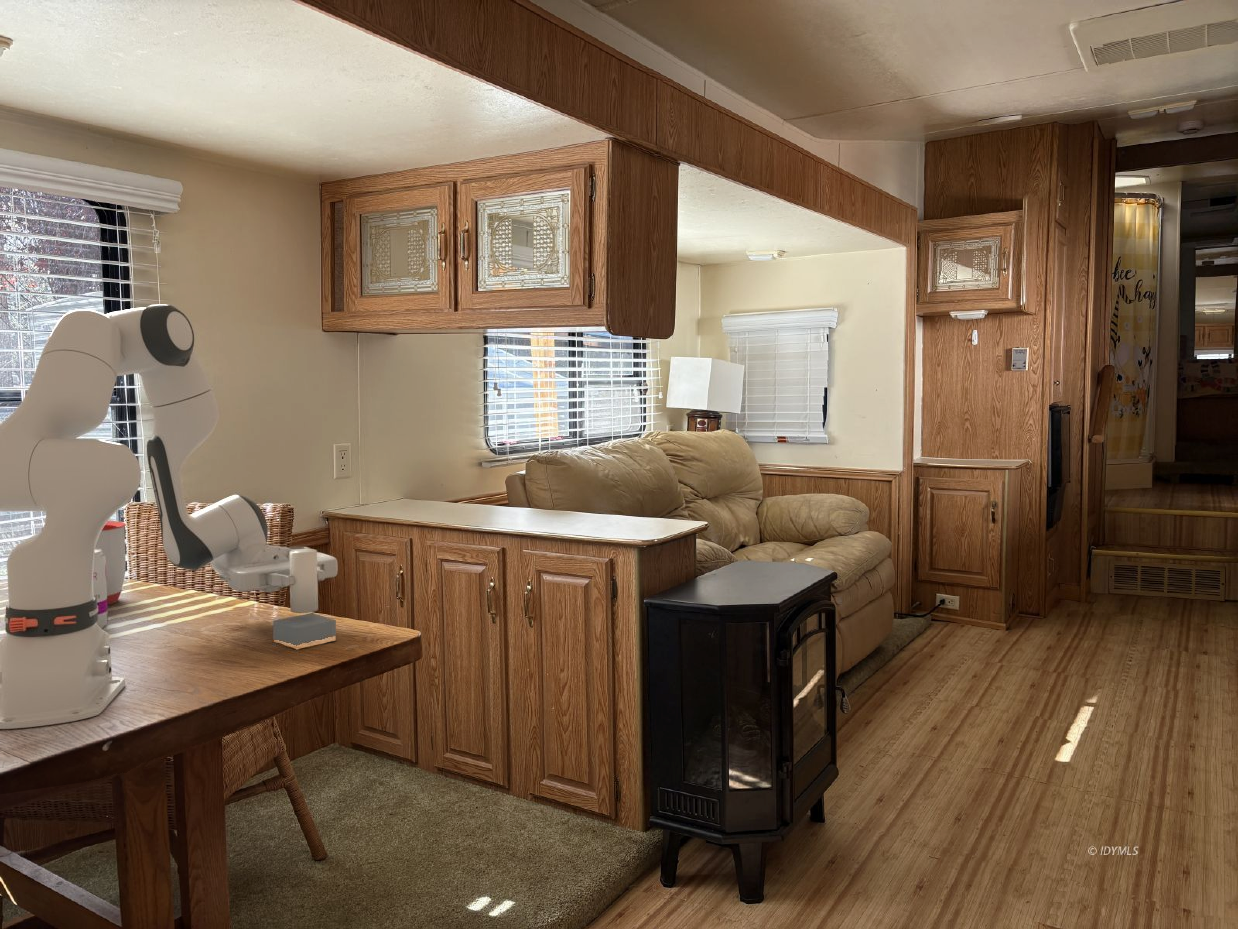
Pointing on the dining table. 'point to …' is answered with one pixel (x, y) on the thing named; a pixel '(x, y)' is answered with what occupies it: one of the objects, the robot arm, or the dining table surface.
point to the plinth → (303, 628)
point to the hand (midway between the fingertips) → (306, 578)
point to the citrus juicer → (113, 557)
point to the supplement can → (100, 587)
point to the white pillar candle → (304, 581)
